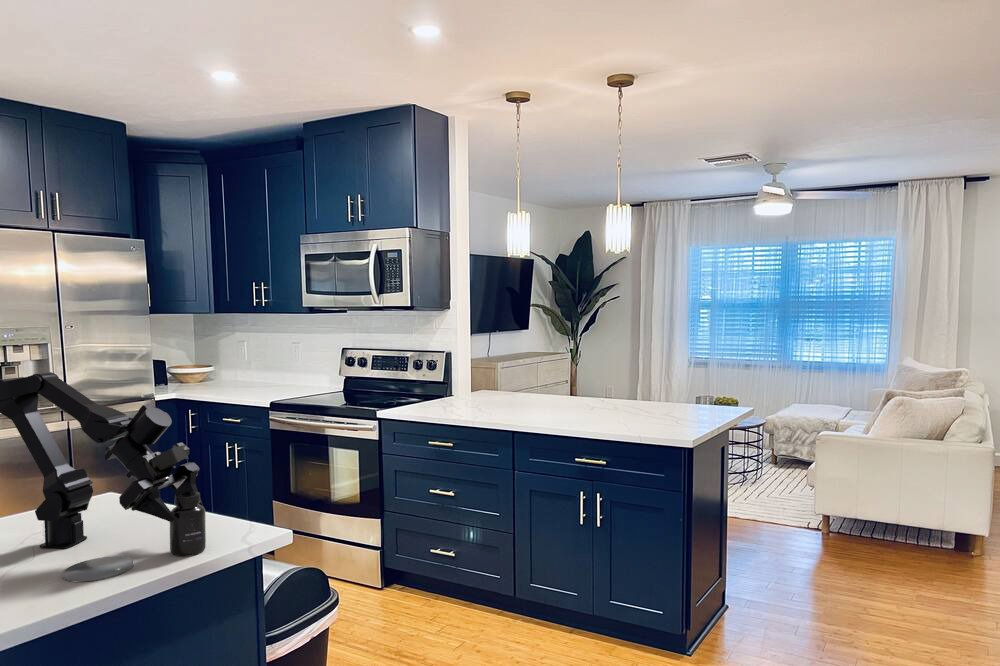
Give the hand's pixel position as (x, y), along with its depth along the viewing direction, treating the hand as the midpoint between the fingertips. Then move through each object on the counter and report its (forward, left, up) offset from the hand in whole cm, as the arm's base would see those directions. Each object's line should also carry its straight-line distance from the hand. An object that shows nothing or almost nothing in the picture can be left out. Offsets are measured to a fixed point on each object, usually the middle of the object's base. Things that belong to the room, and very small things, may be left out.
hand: (187, 513), depth 144 cm
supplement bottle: (0, 0, -8) cm, 8 cm away
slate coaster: (-12, -11, -8) cm, 18 cm away
